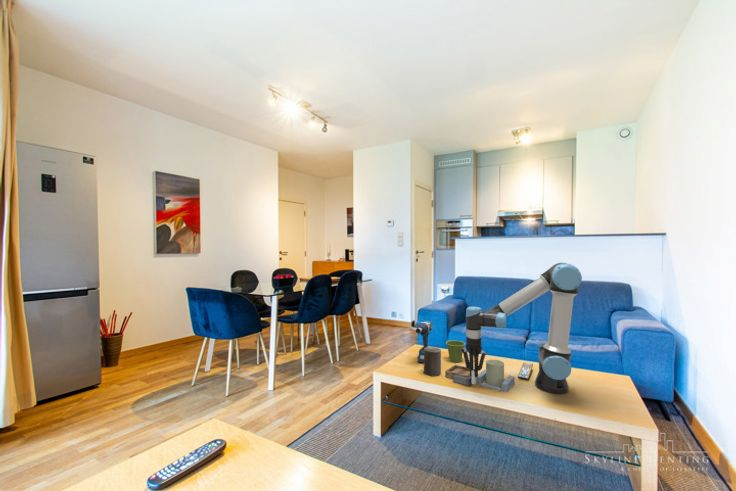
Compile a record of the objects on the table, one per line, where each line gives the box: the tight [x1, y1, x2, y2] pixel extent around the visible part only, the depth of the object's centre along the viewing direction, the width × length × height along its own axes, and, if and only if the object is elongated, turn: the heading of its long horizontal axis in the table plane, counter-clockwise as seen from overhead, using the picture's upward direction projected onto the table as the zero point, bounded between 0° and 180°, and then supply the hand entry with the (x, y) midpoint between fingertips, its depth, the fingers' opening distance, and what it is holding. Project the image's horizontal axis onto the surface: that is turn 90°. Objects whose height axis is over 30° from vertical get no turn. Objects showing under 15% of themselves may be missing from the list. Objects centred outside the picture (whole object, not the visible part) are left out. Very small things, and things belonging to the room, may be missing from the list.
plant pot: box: [445, 339, 466, 363], centre depth 216 cm, size 12×12×11 cm
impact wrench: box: [415, 320, 434, 364], centre depth 213 cm, size 8×22×25 cm, turn 152°
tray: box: [445, 364, 472, 380], centre depth 189 cm, size 13×13×4 cm
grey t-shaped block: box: [452, 374, 473, 387], centre depth 180 cm, size 9×4×4 cm, turn 51°
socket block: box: [474, 369, 516, 393], centre depth 179 cm, size 16×15×4 cm
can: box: [485, 359, 505, 388], centre depth 179 cm, size 9×9×12 cm
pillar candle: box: [423, 346, 442, 377], centre depth 195 cm, size 10×10×15 cm
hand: (474, 382), depth 176 cm, fingers closed
